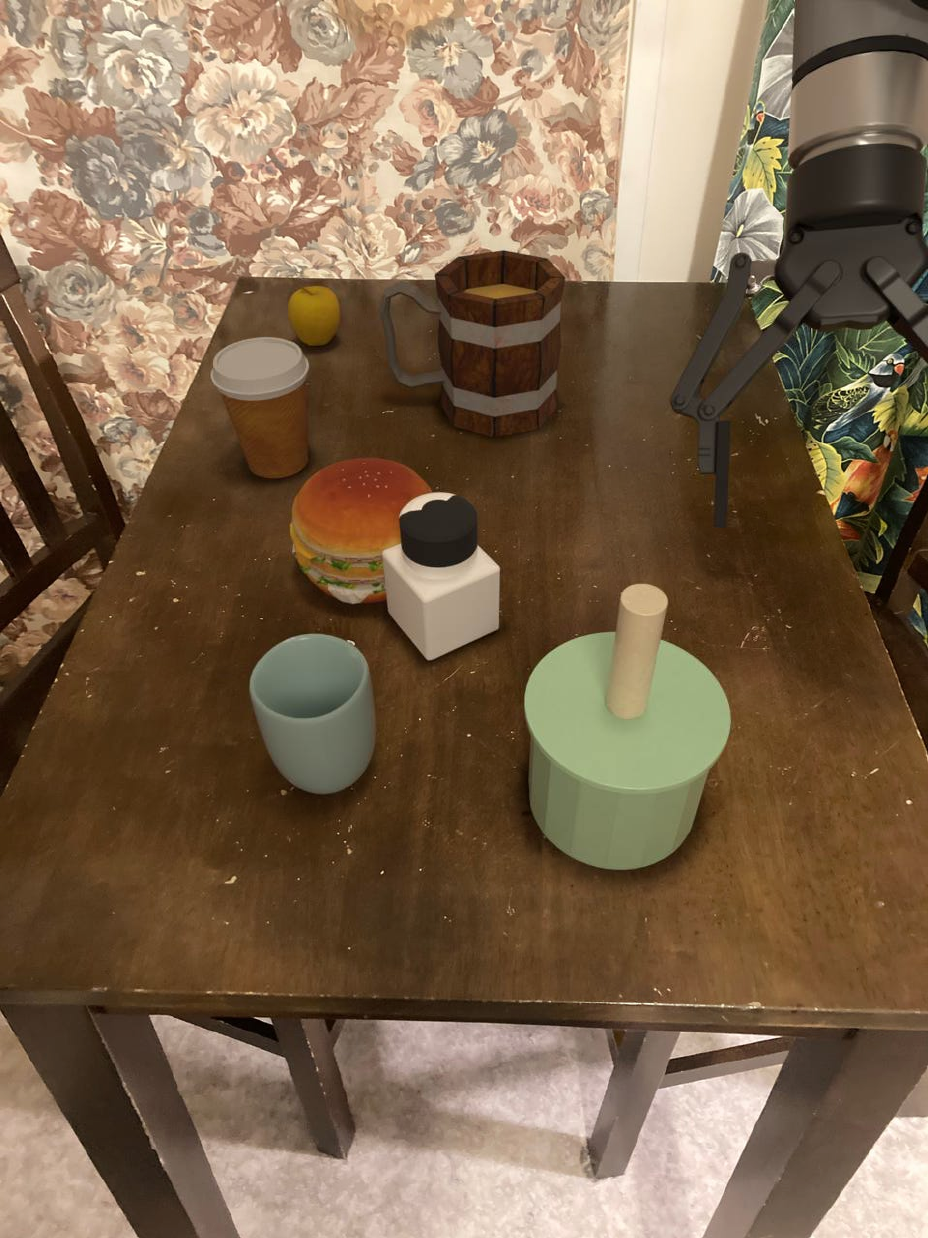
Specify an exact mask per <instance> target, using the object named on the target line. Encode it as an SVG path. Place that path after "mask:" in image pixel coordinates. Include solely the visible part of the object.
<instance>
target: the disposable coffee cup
mask: <svg viewBox="0 0 928 1238" xmlns="http://www.w3.org/2000/svg"><path fill="white" fill-rule="evenodd" d="M213 357H214V358H213V360H212V368H211V371H210V379H211V382H212V384H213V386H215V388H216V389H217V390H218V391H219V393H220V396H221V399H222V400H223V403H224V405H225V408H226V411H227V413H228V416H229V419H230V421H231V424H232V427H233V430H234V432H235V434H236V436H237V440H238V442H239V444H240V446H241V450H242V452H243V455H244V458H245V460H246V462H247V465H248V468H249V470H250V472H252V473H253V474H254V475H256V476H258V477H260V478H265V479H282V478H287V477H290V476H293V475H295V474H297V473H299V472H301V471H302V470H303V469H305V467H306V465H308V463H309V439H308V437H309V435H308V408H307V407H308V406H307V405H308V404H307V378H308V374H309V369H310V363H309V361H308V358H307V357H305V355H304V353H303V351H302V349H301V347H300V346H299V345H298V344H297V343H295V342H293V341H290V340H288V339H285V338H280V337H270V336H261V337H259V336H258V337H251V338H247V339H243V340H239V341H236V342H233V343H231V344H229V345H227V346H225V347H224V348H222V349H220V350H219V351H218V352H217V353H216V354H215V356H213Z"/></svg>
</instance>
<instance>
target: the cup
mask: <svg viewBox="0 0 928 1238" xmlns="http://www.w3.org/2000/svg"><path fill="white" fill-rule="evenodd" d="M248 685H249V686H248V687H249V689H248V691H249V692H248V693H249V697H250V701H251V702H250V703H251V705H252V710H253V713H254V716H255V719H256V722H257V725H258V728H259V732H260V734H261V735H260V736H261V738H262V740H263V744H264V746H265V749H266V752H267V753H268V756H269V758H270V760H271V761H272V763H273V765H274V766H275V768H276V769H277V771H278V772H279V774H280V775H281V776H282V777H283V778H284V779H285V780H287V781H288V783H290V784H291V785H293V786H294V787H296V788H298V789H300V790H302V791H305V792H307V793H311V794H315V795H332V794H336V793H339V792H342V791H344V790H346V789H348V788H349V787H351V786H352V785H353V784H354V783H356V782H357V781H358V780H359V779H360V778H361V776H363V774H364V773H365V771H366V770H367V769H368V767H369V765H370V763H371V761H372V758H373V755H374V752H375V748H376V741H377V715H376V704H375V697H374V688H373V682H372V675H371V671H370V666H369V664H368V662H367V659H366V657H365V655H364V654H363V653H362V652H361V651H360V649H359V648H357V647H356V646H354V645H353V644H351V643H350V642H348V641H346V640H344V639H343V638H341V637H337V636H333V635H330V634H324V633H306V634H300V635H296V636H292V637H289V638H287V639H285V640H283V641H281V642H279V643H278V644H276V645H275V646H273V647H271V649H269V650H268V651H267V652H265V654H263V656H262V657H261V658H260V659H259V661H258V662H257V663H256V665H255V667H254V668H253V670H252V672H251V675H250V678H249V683H248Z"/></svg>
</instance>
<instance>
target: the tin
mask: <svg viewBox="0 0 928 1238" xmlns="http://www.w3.org/2000/svg"><path fill="white" fill-rule="evenodd" d="M529 745H530V746H529V760H528V761H529V763H528V779H527V780H528V799H529V806H530V809H531V813H532V816H533V818H534V820H535V822H536V824H537V826H538V828H539V829H540V830H541V832H542V833H543V835H544V836H545V837H546V838H547V839H548V841H549V842H551V843H552V844H553V845H554V846H555V847H556V848H557V849H558V850H560V851H561V852H563V853H564V854H565V855H566V856H569V857H571V858H572V859H574V860H576V861H578V862H581V863H583V864H586V865H589V866H592V867H595V868H601V869H606V870H618V871H625V870H627V871H628V870H636V869H640V868H641V869H642V868H645V867H649V866H651V865H654V864H656V863H658V862H660V861H662V860H664V859H666V858H667V857H669V856H670V855H672V854H673V853H674V852H675V851H676V850H678V848H680V846H681V845H682V844H683V843H684V841H685V840H686V838H687V836H688V835H689V834H690V833H691V830H692V828H693V824H694V821H695V818H696V815H697V811H698V808H699V804H700V801H701V798H702V794H703V791H704V789H705V788H704V787H705V785H706V782H707V778H708V775H709V771H710V769H709V770H708V771H707V772H706V773H705V774H703V775H702V776H700V777H699V778H697V779H696V780H694V781H693V782H691V783H688V784H686V785H684V786H682V787H679V788H676V789H673V790H670V791H666V792H661V793H655V794H642V795H637V794H622V793H615V792H610V791H606V790H602V789H598V788H595V787H593V786H590V785H587V784H585V783H583V782H581V781H579V780H577V779H575V778H573V777H571V776H569V775H568V774H566V773H565V772H563V771H562V770H560V769H559V768H558V767H557V766H555V765H554V764H553V763H552V762H551V761H550V760H549V759H548V758H547V757H546V756H545V755H544V754H543V753H542V752H541V750H540V749H539V748H538V746H537V745H536V743H535V742H534V740H533V738H532V736H531V735H530V743H529Z"/></svg>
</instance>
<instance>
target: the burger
mask: <svg viewBox="0 0 928 1238" xmlns="http://www.w3.org/2000/svg"><path fill="white" fill-rule="evenodd" d="M429 493H433V491H432V488H431V487H430V485H429V484H428V483H427V482H426V481H425V480H424V479H423V478H422V477H421V476H420V475H419V474H418V473H417V472H416V471H415V470H413V469H412V468H410V467H408V466H407V465H404V464H403V463H400V462H397V461H394V460H391V459H385V458H380V457H360V458H350V459H345V460H342V461H339V462H335V463H332V464H330V465H328V466H326V467H324V468H322V469H320V470H318V471H316V473H314V474H313V475H312V476H310V477H309V478H308V479H307V480H306V481H305V483H304V484H303V485H302V487H301V488H300V490H299V491H298V492H297V494H296V495H295V496H294V500H293V502H292V503H293V504H292V506H291V522H290V524H289V533H290V539H291V541H292V543H293V544H292V549H291V550H292V551H291V553H292V554H293V555H294V557H295V559H296V560H297V564H298V566H299V568H300V570H301V572H302V573H303V574H305V575H306V577H307V579H309V581H311V583H313V584H314V585H315V586H316V587H317V588H318V589H319V590H321V591H322V592H323V593H325V594H326V595H327V596H329V597H332V598H334V599H337V600H339V602H340V601H341V602H343V603H348V604H351V605H354V604H372V603H381V602H385V601H387V596H386V587H385V578H384V569H383V560H382V552H383V551H384V550H386V549H388V548H391V547H393V546H396V545H398V544H401V536H400V525H399V516H400V513H401V511H402V509H403V508H404V507H405V506H406V505H407V504H408V503H409V502H410V501H411V500H413V499H415V498H416V497H419V496H421V495H424V494H429Z"/></svg>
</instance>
